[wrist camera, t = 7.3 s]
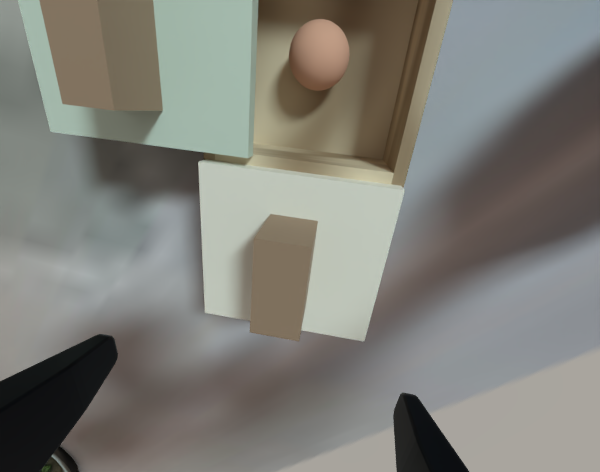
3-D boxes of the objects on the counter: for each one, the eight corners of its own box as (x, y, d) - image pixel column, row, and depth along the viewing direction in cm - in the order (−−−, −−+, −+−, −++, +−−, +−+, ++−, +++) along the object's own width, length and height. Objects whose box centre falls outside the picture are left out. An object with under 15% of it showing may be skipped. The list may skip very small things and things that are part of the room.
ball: (353, 31, 15) (356, 13, 12) (343, 95, 16) (344, 92, 13) (296, 25, 15) (286, 6, 12) (291, 89, 16) (281, 84, 13)
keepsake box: (441, -49, 13) (485, -121, 9) (359, 296, 22) (363, 338, 18) (236, -64, 14) (193, -135, 10) (233, 274, 22) (209, 311, 18)
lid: (399, 183, 14) (421, 211, 10) (362, 326, 18) (368, 386, 14) (209, 157, 15) (162, 174, 11) (213, 300, 19) (179, 350, 15)
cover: (262, -111, 10) (219, -227, 7) (252, 155, 14) (223, 170, 10) (6, -125, 11) (-151, -235, 7) (65, 130, 15) (-21, 136, 11)
